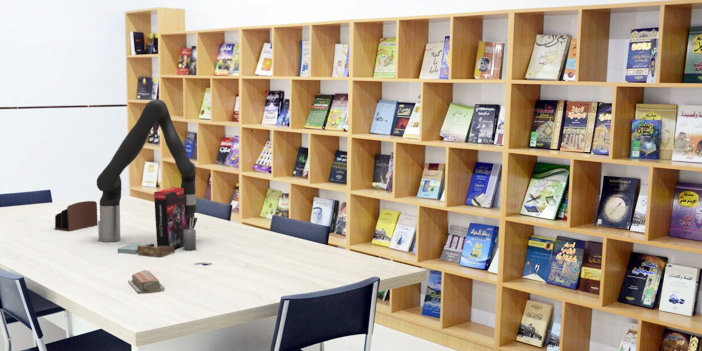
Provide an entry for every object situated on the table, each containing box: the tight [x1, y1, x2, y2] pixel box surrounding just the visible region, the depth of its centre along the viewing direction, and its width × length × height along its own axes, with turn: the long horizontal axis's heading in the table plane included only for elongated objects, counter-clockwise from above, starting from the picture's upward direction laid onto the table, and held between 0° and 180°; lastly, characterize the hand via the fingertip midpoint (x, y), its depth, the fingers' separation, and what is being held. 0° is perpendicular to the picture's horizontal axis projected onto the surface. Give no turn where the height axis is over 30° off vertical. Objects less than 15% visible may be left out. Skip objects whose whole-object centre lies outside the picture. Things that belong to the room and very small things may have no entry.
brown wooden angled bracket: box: [137, 243, 175, 258], centre depth 341 cm, size 12×11×4 cm
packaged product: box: [127, 269, 165, 294], centre depth 287 cm, size 18×5×10 cm
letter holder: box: [54, 200, 98, 232], centre depth 397 cm, size 10×20×14 cm, turn 153°
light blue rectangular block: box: [117, 242, 150, 255], centre depth 347 cm, size 9×13×2 cm
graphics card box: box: [153, 186, 186, 250], centre depth 352 cm, size 17×7×27 cm, turn 164°
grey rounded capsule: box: [182, 228, 197, 252], centre depth 351 cm, size 6×6×9 cm
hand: (188, 238), depth 367 cm, fingers closed
